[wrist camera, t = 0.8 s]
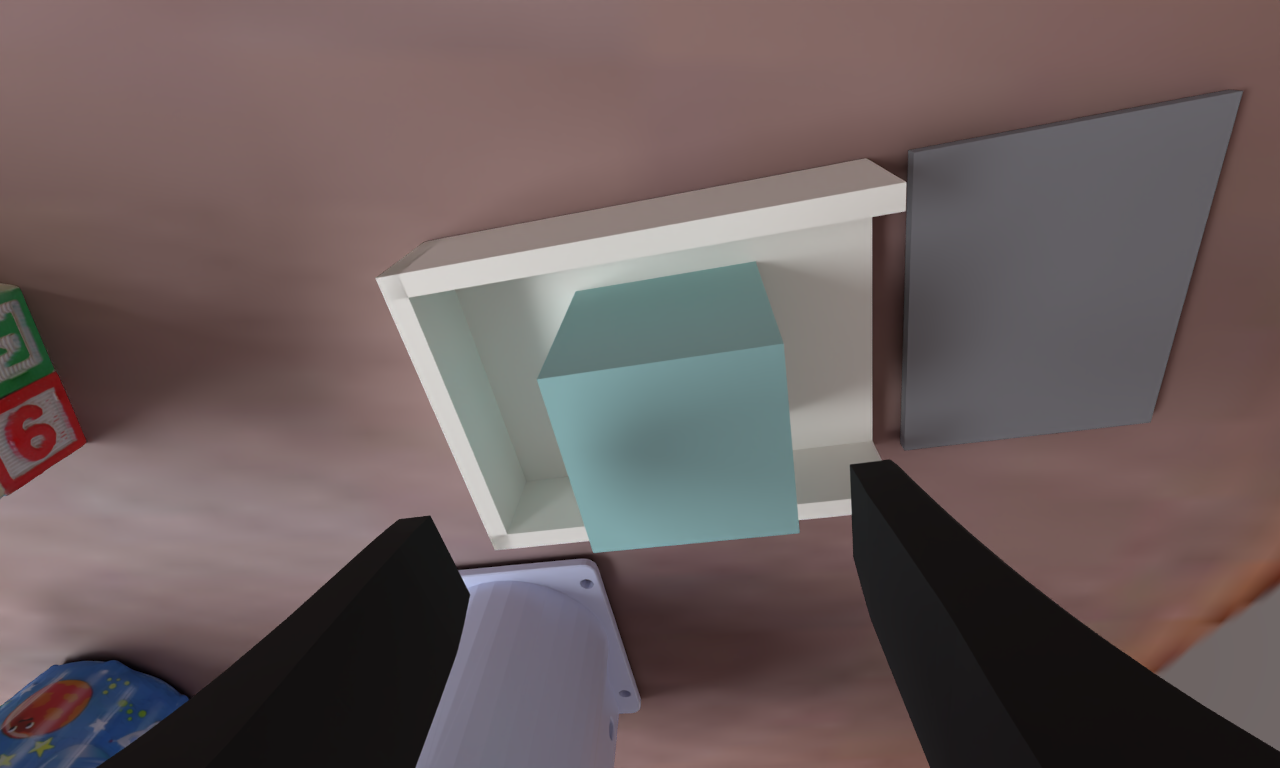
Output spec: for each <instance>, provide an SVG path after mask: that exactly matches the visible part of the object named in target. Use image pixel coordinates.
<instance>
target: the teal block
mask: <svg viewBox="0 0 1280 768" xmlns="http://www.w3.org/2000/svg"><path fill="white" fill-rule="evenodd" d="M537 382H538V385H539V388H540V391H541V394H542V397H543V400H544V403H545V406H546V409H547V412H548V415H549V418H550V422H551V425H552V428H553V431H554V434H555V437H556V440H557V443H558V446H559V449H560V452H561V455H562V458H563V461H564V464H565V468H566V471H567V474H568V477H569V480H570V483H571V486H572V489H573V492H574V495H575V498H576V501H577V504H578V507H579V510H580V514H581V517H582V520H583V523H584V526H585V529H586V532H587V535H588V538H589V541H590V544H591V547H592V550H593V553H598V552H609V551H619V550H629V549H640V548H650V547H661V546H671V545H681V544H692V543H702V542H713V541H723V540H734V539H744V538H754V537H765V536H775V535H786V534H796V533H800V532H799V520H798V508H797V496H796V484H795V472H794V461H793V449H792V437H791V425H790V413H789V401H788V389H787V378H786V366H785V354H784V343H783V340H782V337H781V334H780V332H779V329H778V326H777V323H776V320H775V317H774V314H773V311H772V308H771V305H770V302H769V299H768V296H767V293H766V291H765V288H764V285H763V282H762V279H761V276H760V273H759V270H758V267H757V264H756V261H754V262H748V263H742V264H736V265H730V266H724V267H718V268H712V269H706V270H700V271H694V272H688V273H683V274H677V275H671V276H665V277H659V278H653V279H647V280H641V281H635V282H629V283H623V284H617V285H611V286H605V287H599V288H593V289H587V290H581V291H576V292H575V294H574V296H573V298H572V301H571V303H570V305H569V307H568V310H567V312H566V314H565V317H564V319H563V321H562V323H561V326H560V328H559V330H558V332H557V335H556V337H555V339H554V342H553V344H552V346H551V348H550V351H549V353H548V355H547V357H546V360H545V362H544V364H543V366H542V369H541V371H540V373H539V376H538V378H537Z"/></svg>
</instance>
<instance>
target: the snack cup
mask: <svg viewBox="0 0 1280 768" xmlns="http://www.w3.org/2000/svg"><path fill="white" fill-rule="evenodd" d="M188 700H189V699H188V697H187V696H186V695H182V694H180V693H179V692H178V691H177V690H176V689H174V688H173V687H172V686H170V685H169V684H167V683H166V682H164V681H162V680H161V679H159V678H157V677H154V676H151V675H148V674H145V673H141V672H138V671H135V670H132V669H130V668H128V667H127V666H125V665H124V664H122V663H121V662H119V661H117V660H110V661H107V662H103V661H79V662H72V663H68V664H63V665H53V666H51V667H50V668H49V669H48V670H46V671H45V672H44V673H42V674H41V675H39V676H38V677H37V678H36V679H34V680H33V681H32V682H30V683H29V684H28V685H26V686H25V687H24V688H23V689H22V690H20V691H19V692H18V693H17V694H15V695H14V696H13V697H12V698H11V699H9V700H8V701H7V702H5V703H4V704H3V705H1V706H0V768H96V767H97V766H99V765H100V764H102V763H103V762H105V761H106V760H108V759H109V758H111V757H112V756H113V755H115V754H116V753H118V752H119V751H121V750H122V749H124V748H125V747H127V746H128V745H129V744H131V743H132V742H134V741H135V740H136V739H138V738H139V737H140V736H142V735H143V734H145V733H146V732H147V731H149V730H150V729H151V728H153V727H154V726H155V725H157V724H158V723H159V722H161V721H162V720H163V719H164V718H166V717H167V716H168V715H170V714H171V713H172V712H174V711H175V710H176V709H178V708H179V707H180V706H182V705H183V704H184V703H186V702H187V701H188Z"/></svg>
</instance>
